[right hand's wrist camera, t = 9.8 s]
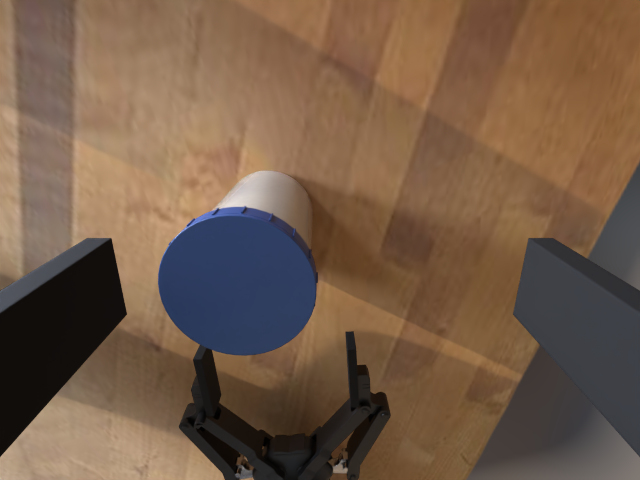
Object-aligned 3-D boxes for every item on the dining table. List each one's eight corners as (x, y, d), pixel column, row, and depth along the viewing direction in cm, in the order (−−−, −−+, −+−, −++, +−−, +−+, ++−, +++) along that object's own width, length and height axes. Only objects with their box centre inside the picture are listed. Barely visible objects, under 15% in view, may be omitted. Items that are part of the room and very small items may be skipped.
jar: (225, 249, 38) (171, 339, 24) (227, 165, 35) (165, 213, 21) (308, 257, 38) (302, 350, 24) (316, 175, 35) (315, 228, 21)
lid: (171, 333, 25) (161, 350, 24) (165, 197, 22) (153, 205, 20) (309, 345, 26) (308, 362, 24) (324, 213, 22) (324, 222, 21)
